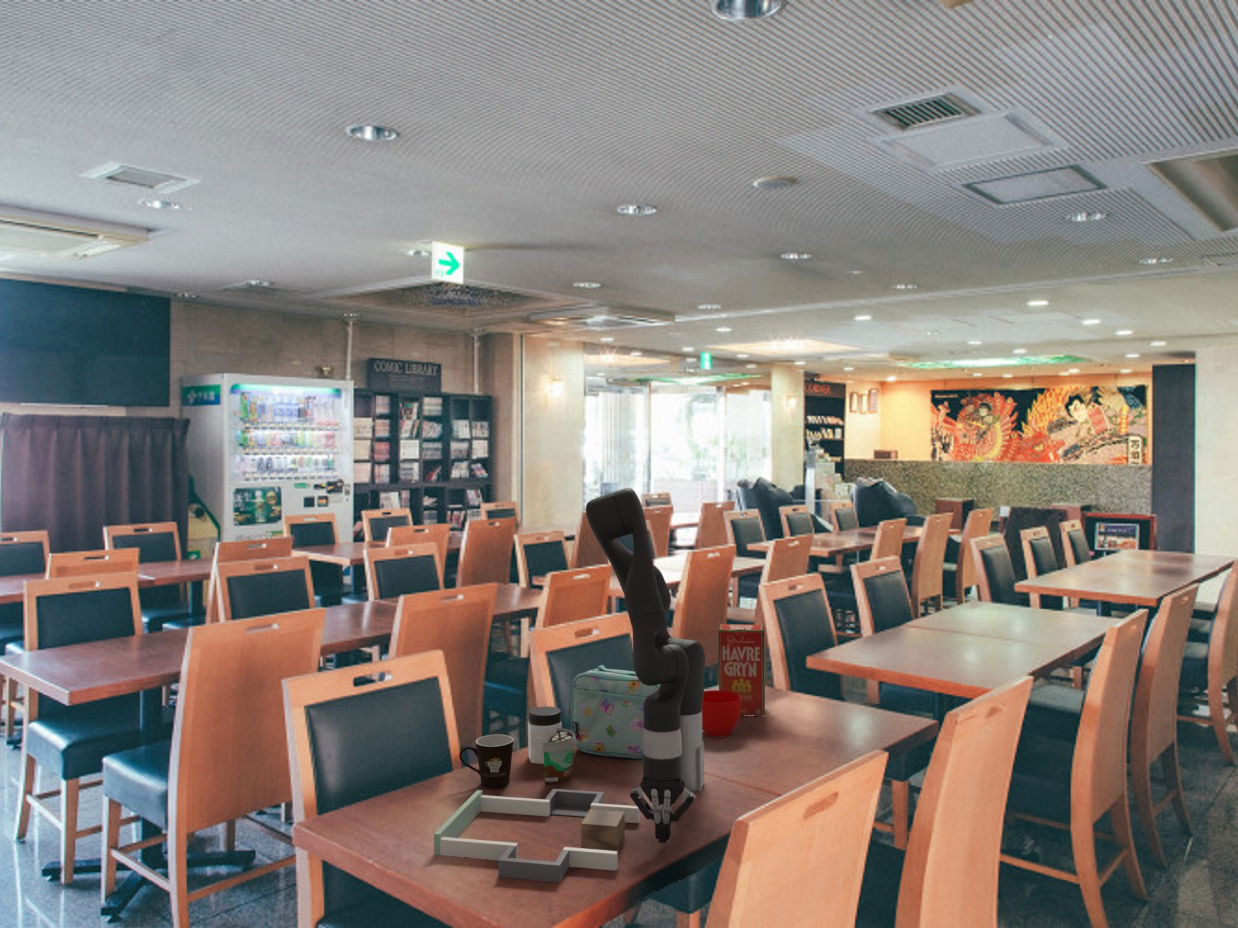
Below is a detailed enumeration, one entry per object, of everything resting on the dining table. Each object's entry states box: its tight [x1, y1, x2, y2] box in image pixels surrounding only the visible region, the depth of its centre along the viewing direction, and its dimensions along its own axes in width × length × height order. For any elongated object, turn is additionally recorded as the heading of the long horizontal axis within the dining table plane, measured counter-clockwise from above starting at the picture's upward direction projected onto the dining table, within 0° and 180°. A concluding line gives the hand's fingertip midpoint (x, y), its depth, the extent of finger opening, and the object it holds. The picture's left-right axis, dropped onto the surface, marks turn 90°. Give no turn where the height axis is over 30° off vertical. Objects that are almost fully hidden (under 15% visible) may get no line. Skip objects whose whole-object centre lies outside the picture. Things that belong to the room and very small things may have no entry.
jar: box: [527, 706, 563, 765], centre depth 221 cm, size 9×8×12 cm
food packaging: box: [717, 623, 766, 717], centre depth 260 cm, size 13×9×25 cm
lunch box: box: [567, 664, 660, 760], centre depth 225 cm, size 27×10×21 cm, turn 68°
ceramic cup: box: [702, 689, 741, 738], centre depth 241 cm, size 13×17×10 cm
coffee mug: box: [458, 734, 514, 790], centre depth 205 cm, size 12×9×10 cm
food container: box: [543, 727, 577, 786], centre depth 208 cm, size 12×6×10 cm, turn 168°
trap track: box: [433, 788, 640, 883], centre depth 175 cm, size 35×35×4 cm
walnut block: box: [580, 809, 626, 852], centre depth 173 cm, size 7×7×5 cm
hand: (663, 840), depth 170 cm, fingers closed
